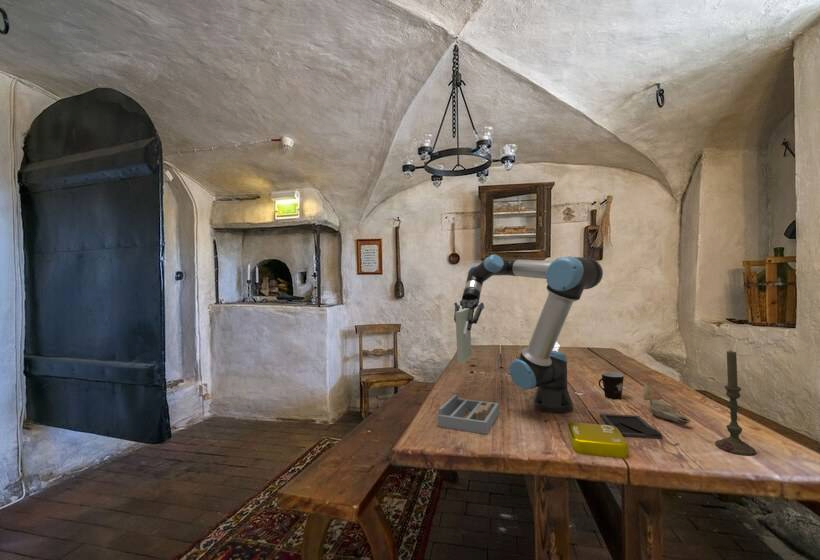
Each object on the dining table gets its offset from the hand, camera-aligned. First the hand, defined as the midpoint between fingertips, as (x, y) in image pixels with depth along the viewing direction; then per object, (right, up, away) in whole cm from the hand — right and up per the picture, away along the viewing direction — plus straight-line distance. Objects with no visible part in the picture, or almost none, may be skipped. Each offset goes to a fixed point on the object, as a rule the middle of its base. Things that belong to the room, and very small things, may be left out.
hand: (461, 335), depth 142 cm
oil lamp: (+75, -29, -11) cm, 81 cm away
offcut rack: (+2, -31, -8) cm, 32 cm away
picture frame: (+56, -30, -18) cm, 66 cm away
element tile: (+38, -30, -31) cm, 58 cm away
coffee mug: (+68, -30, +14) cm, 75 cm away
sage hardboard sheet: (+2, -10, +3) cm, 10 cm away
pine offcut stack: (+7, -31, -10) cm, 33 cm away
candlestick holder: (+78, -29, -36) cm, 90 cm away
